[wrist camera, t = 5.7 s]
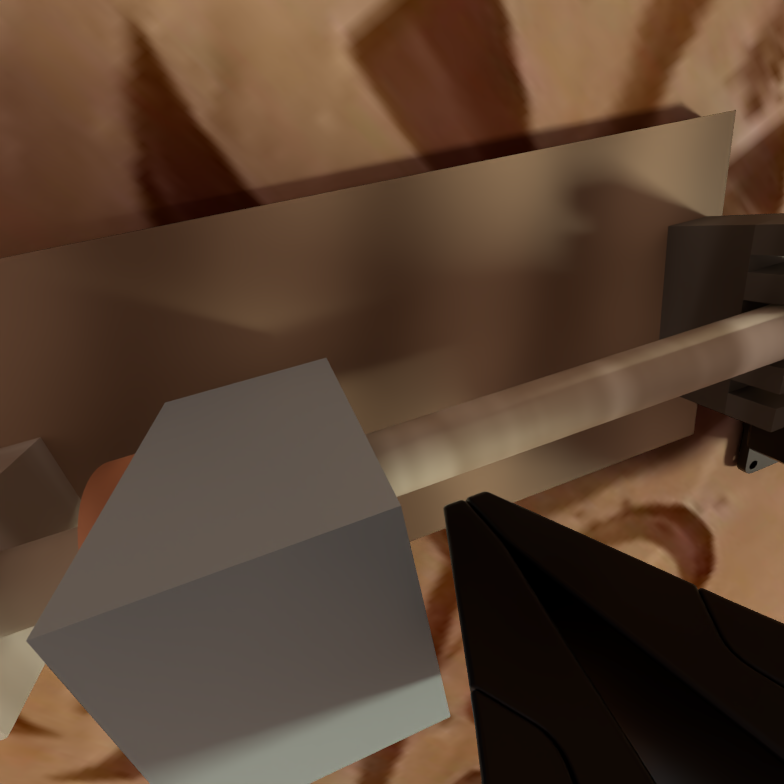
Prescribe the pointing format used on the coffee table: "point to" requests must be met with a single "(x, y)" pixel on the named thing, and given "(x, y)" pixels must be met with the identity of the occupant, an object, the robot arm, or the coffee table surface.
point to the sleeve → (248, 594)
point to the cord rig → (397, 334)
